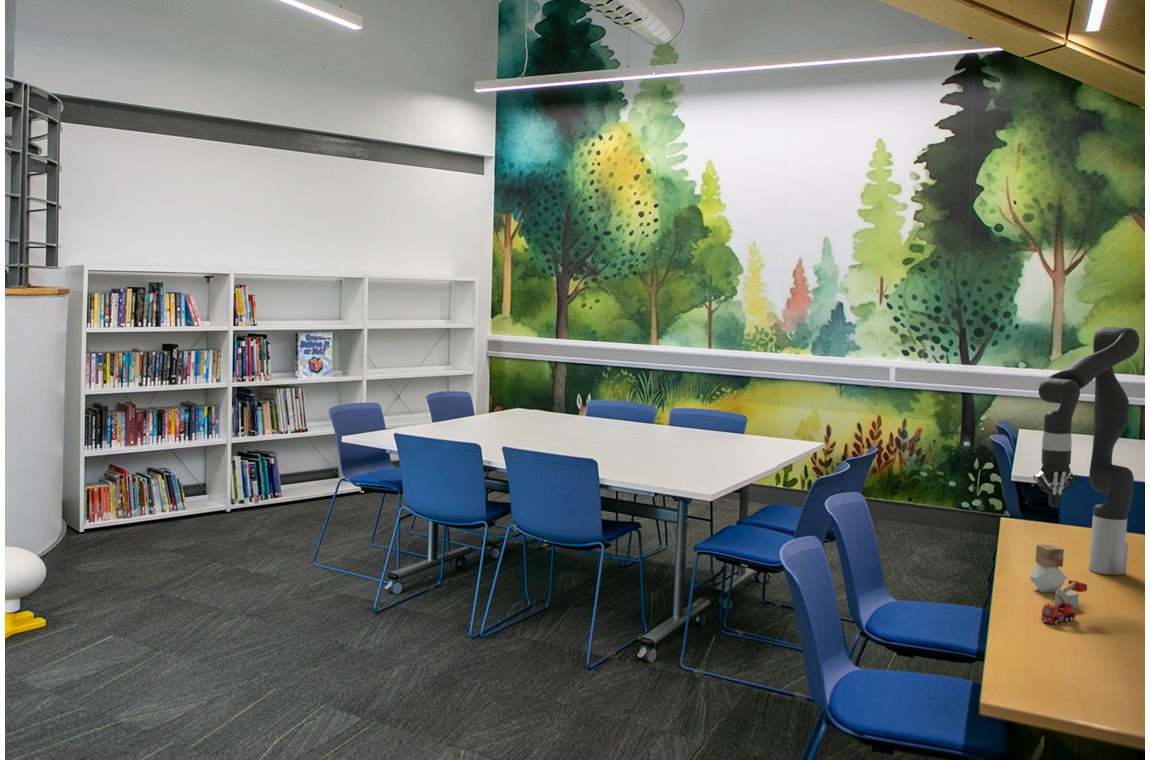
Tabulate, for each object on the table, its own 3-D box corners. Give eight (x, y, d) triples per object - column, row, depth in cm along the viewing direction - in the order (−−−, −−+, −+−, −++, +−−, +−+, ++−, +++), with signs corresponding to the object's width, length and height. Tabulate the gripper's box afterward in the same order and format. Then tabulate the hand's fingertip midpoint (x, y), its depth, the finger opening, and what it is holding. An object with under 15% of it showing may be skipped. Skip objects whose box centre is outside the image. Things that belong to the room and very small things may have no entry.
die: (1061, 599, 263) (1076, 570, 266) (1034, 582, 264) (1048, 553, 267) (1047, 601, 271) (1061, 572, 273) (1020, 584, 272) (1034, 556, 275)
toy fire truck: (1039, 621, 243) (1041, 584, 242) (1073, 614, 249) (1076, 578, 248) (1051, 625, 240) (1053, 588, 239) (1085, 618, 246) (1087, 582, 245)
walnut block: (1051, 561, 272) (1052, 544, 271) (1062, 566, 267) (1063, 549, 266) (1035, 561, 271) (1036, 544, 271) (1046, 566, 266) (1047, 549, 266)
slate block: (1064, 603, 258) (1065, 589, 258) (1077, 608, 254) (1078, 593, 254) (1054, 605, 256) (1055, 591, 256) (1068, 610, 252) (1069, 595, 252)
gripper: (1068, 444, 276) (1066, 502, 278) (1027, 446, 274) (1025, 504, 276) (1086, 449, 269) (1083, 508, 271) (1044, 450, 267) (1041, 510, 269)
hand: (1053, 506), depth 273 cm, fingers closed
